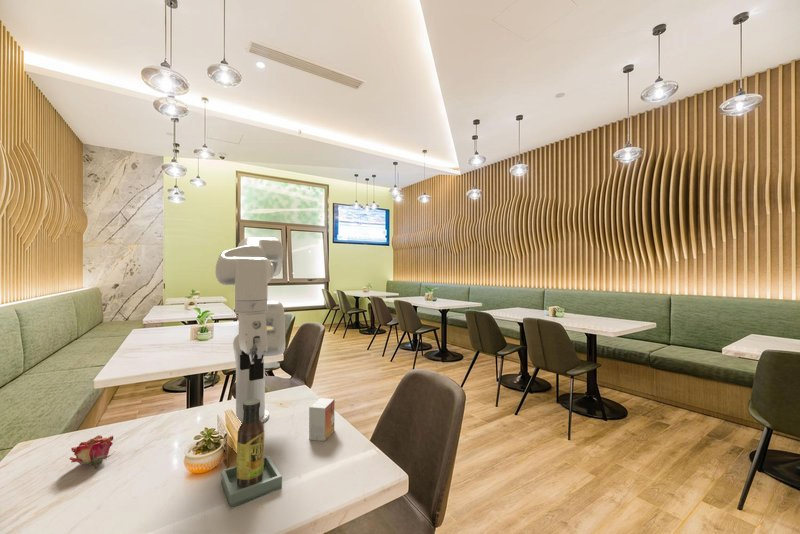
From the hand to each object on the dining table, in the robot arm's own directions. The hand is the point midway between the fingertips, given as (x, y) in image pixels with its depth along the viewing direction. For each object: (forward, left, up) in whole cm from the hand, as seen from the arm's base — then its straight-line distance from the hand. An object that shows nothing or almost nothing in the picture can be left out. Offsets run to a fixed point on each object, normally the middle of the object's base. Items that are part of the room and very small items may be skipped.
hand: (251, 373), depth 85 cm
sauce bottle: (0, 0, -27) cm, 27 cm away
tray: (0, 0, -28) cm, 28 cm away
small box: (-13, +25, -28) cm, 40 cm away
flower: (-36, -33, -28) cm, 56 cm away
